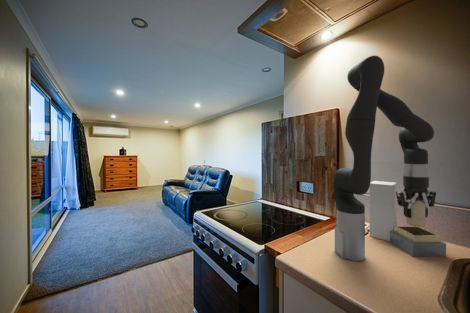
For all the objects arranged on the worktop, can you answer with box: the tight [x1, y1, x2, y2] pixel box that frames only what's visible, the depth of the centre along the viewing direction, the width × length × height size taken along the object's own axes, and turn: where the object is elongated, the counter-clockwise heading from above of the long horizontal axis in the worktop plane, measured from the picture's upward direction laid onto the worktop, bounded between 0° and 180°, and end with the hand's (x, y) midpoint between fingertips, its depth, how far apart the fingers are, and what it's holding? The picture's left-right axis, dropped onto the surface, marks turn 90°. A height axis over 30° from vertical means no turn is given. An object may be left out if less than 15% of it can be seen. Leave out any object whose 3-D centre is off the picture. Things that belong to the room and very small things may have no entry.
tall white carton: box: [368, 180, 398, 242], centre depth 88 cm, size 9×9×25 cm
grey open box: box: [389, 225, 447, 258], centre depth 76 cm, size 12×11×8 cm
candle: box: [405, 199, 426, 228], centre depth 76 cm, size 6×6×10 cm
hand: (415, 216), depth 76 cm, fingers closed on candle, 5 cm apart
